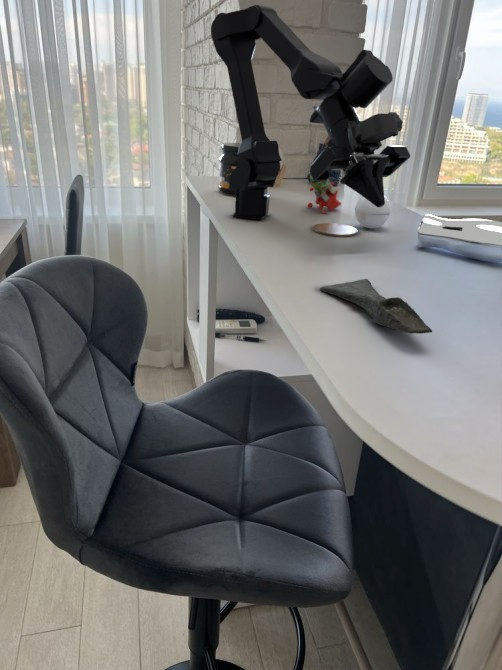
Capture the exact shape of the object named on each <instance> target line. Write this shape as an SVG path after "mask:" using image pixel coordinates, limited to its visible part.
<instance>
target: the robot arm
mask: <svg viewBox="0 0 502 670" xmlns="http://www.w3.org/2000/svg"><path fill="white" fill-rule="evenodd" d="M210 36H211V39H212V43H213V46H214V49H215V52H216V54H217V56H218V57H219V58H220V59H221V60H222V62H223V64H224V65H225V66H226V68H227V74H228V78H229V83H230V88H231V93H232V94H231V95H232V98H233V104H234V108H235V113H236V119H237V124H238V128H239V133H240V137H241V139H240V143H241V144H240V147H239V151H238V154H237V156H238V166H237V167H236V168H235V169H234V171H233V172H232V173H231V174H230V176H229V183H230V187H233V188H236V196H235V202H234V203H235V204H234V205H235V206H234V213H233V214H232V218H239V219H249V220H255V221H256V220H257V221H262V220H264V219H265V218H266V217H267V216H268V215H269V213H270V198H271V197H270V194H268V188H274V185H275V183H276V181H277V178H278V175H279V172H280V171H281V162H282V161H283V159H282V158H281V155H280V150H279V143H278V141H277V140H271V139H270V138H269V137H268V136H267V134H266V131H265V125H264V121H263V116H262V110H261V106H260V99H259V94H258V89H257V84H256V78H255V73H254V68H253V64H252V63H253V62H252V59H253V56H254V53H255V49H256V42H257V41H258V40H259V41H260V40H262V41H263V42H264V43H265V44H266V45H267V46H268V47H269V49H270V50H271V51H272V52H273V53H274V55H276V56H277V58H279V60H280V61H281V62H282V63H283V64H284V65H285V66H286V68H287V69H288V70H289V72H290V80H291V82H292V84H293V86H294V87H295V89H296V91H297V92H298V94H299V95H300V97H301V98H303V99H305V100H318V101H319V100H322V101H321V103H319V105H318V106H316V105H315V106H313V108H312V112H311V114H310V116H309V123H311V124H321V125H323V127H324V128H325V131H326V133H327V135H328V137H329V140H328V141H327V142H326V145H327V146H325V148H323V150H322V151H321V152H320V154H319V155H318V156H317V157H316V158H315V159H314V160H313V161H312V163H311V164H310V167H309V169H310V170H309V173H310V175H311V176H312V178H313V180H314V182H323V181H327V180H328V179H329V177H330V173H329V170H331V171H341V170H342V171H343V172H342V174H343V177H342V178H341V179H339V183H340V184H341V185H345V186H347V187H348V188H350V189H351V190H353V191H354V192H356V193H357V194H358V195H360V196H361V197H362V196H363V197H364V198H366V199H367V200H368V201H370V202H371V203H372V204H374V205H375V206H376V207H382V206H383V205H384V204H385V198H384V196H385V189H384V178H388V177H390V176H392V174H394V173H395V172H396V171H397V170H398V169H399V168H400V167H402V165H404V163H406V162H407V161H409V159H410V158H411V153H410V152H409V150H408V148H407V146H406V145H386V146H385V147H384V148H383V150H382V151H381V152H379V153H375V151H377V150H379V149H380V148H381V147H382V146H383V144H382V142H383V141H385V140H387V139H389V138H391V137H393V138H394V137H397V136H398V135H399V132H401V131H402V129H403V123H404V122H403V120H402V119H401V117H400V115H399V114H398V113H397V112H396V111H389V112H387V113H376V114H373V115H371V116H369V117H368V118H365V119H363V120H361V119H360V117H359V115H358V113H357V110H356V109H358V108H360V109H367V108H368V107H369V106H370V105H371V104H372V102H374V100H376V99H377V98H378V97H379V95H381V94H382V92H383V91H384V90H385V89H386V88H387V87H388V86H389V85H390V84H391V83H393V79H394V78H393V74H392V71H391V69H390V67H389V66H388V65H385V63H384V62H383V61H382V60H381V59H380V58H378V57H377V56H376V55H374V53H373V52H372V50H369V49H362V50H361V51H360V52H359V53H358V55H357V56H356V58H355V60H354V61H353V62H352V63H351V64H350V65H349V66H348V68H347V69H346V70H345V71H344V72H342V69H341V68H340V67H339V66H338V65H337V64H336V63H333V62H332V61H330V59H328V58H326V57H324V56H321V55H320V54H317V53H315V52H314V51H312V50H311V49H310V48H309V47H308V46H307V45H306V44H305V43H304V42H303V41H302V39H301V38H300V37H298V36H297V34H296V33H295V32H294V31H293V30H292V29H291V28H290V27H289V26H288V25H287V23H285V22H284V21H283V19H282V18H281V17H280V16H279V15H278V13H277V11H276V10H275V9H274V8H272V7H270V6H266V5H260V4H254V5H251V6H248V7H247V8H244V9H240V10H234V11H230V12H220V13H218V14H217V15H216V16H215V18H214V19H213V20H212V22H211V26H210Z"/></svg>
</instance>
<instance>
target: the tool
mask: <svg viewBox="0 0 502 670" xmlns="http://www.w3.org/2000/svg"><path fill="white" fill-rule="evenodd" d="M319 291H322V292H324V293H328V294H330V295H334V296H336V297H339V298H341V299H344V300H346V301H349V302H351V303H353V304H355V305H357V306H359V307H361V308H362V309H364V310H365V311H366V313H367V314H368V315H370V319H372V321H373V323H374V324H378V325H379V326H384V327H385V328H389V329H391V330H393V331H398V332H400V333H406V334H421V335H422V334H428V333H433V329H432V328H431V327H429V326H428V325H427V324H426V323H425V322H424V320H423V319H422V318H421V317H420V315H419V314H418V312H416V311H415V309H414V308H412V306H411V305H409V304H408V302H407V301H406V300H404V299H403V298H401V297H388V298H386V297H385V296H383V295H381V294H379V292H378V291H377V290H376V289H375V288H374V287H373V285H372V282H371V281H370V279H368V278H362V279H358V280H354V281H348V282H341V283H337V284H331V285H324V286H322V287H320V288H319Z"/></svg>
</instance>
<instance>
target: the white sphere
mask: <svg viewBox="0 0 502 670" xmlns="http://www.w3.org/2000/svg"><path fill="white" fill-rule="evenodd" d="M384 198H385V204H384V205H383V206H382V207H376V206H375V205H374V204H372V203H371V202H370V201H368V200H367V199H366V198H364V197H363V196H362V195H361V197H359V198H358V200H357V202H356V203H355V207H354V216H355V218H356V221H357V222H358V223H359V225H361V226H362V227H364V228H366V229H377V228H381V227H382V226H383V225H384V224H386V222H387V221H388V220H389V219H390V216H391V212H392V206H391V204H390V203H391V202H390V201H389V199H388V198H387V196H385V195H384Z"/></svg>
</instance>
